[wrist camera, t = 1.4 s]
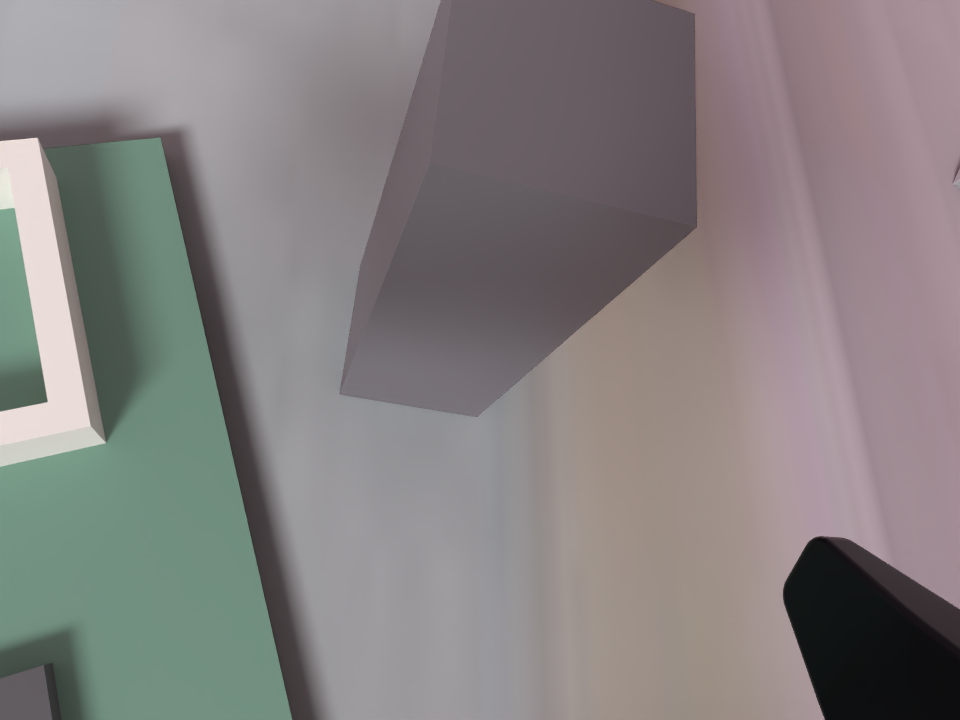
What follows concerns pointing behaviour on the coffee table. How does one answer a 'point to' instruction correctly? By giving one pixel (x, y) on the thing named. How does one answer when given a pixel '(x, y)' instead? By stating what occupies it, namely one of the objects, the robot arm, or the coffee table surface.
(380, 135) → the coffee table surface
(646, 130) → the plug
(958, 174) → the external hard drive
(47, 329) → the board
